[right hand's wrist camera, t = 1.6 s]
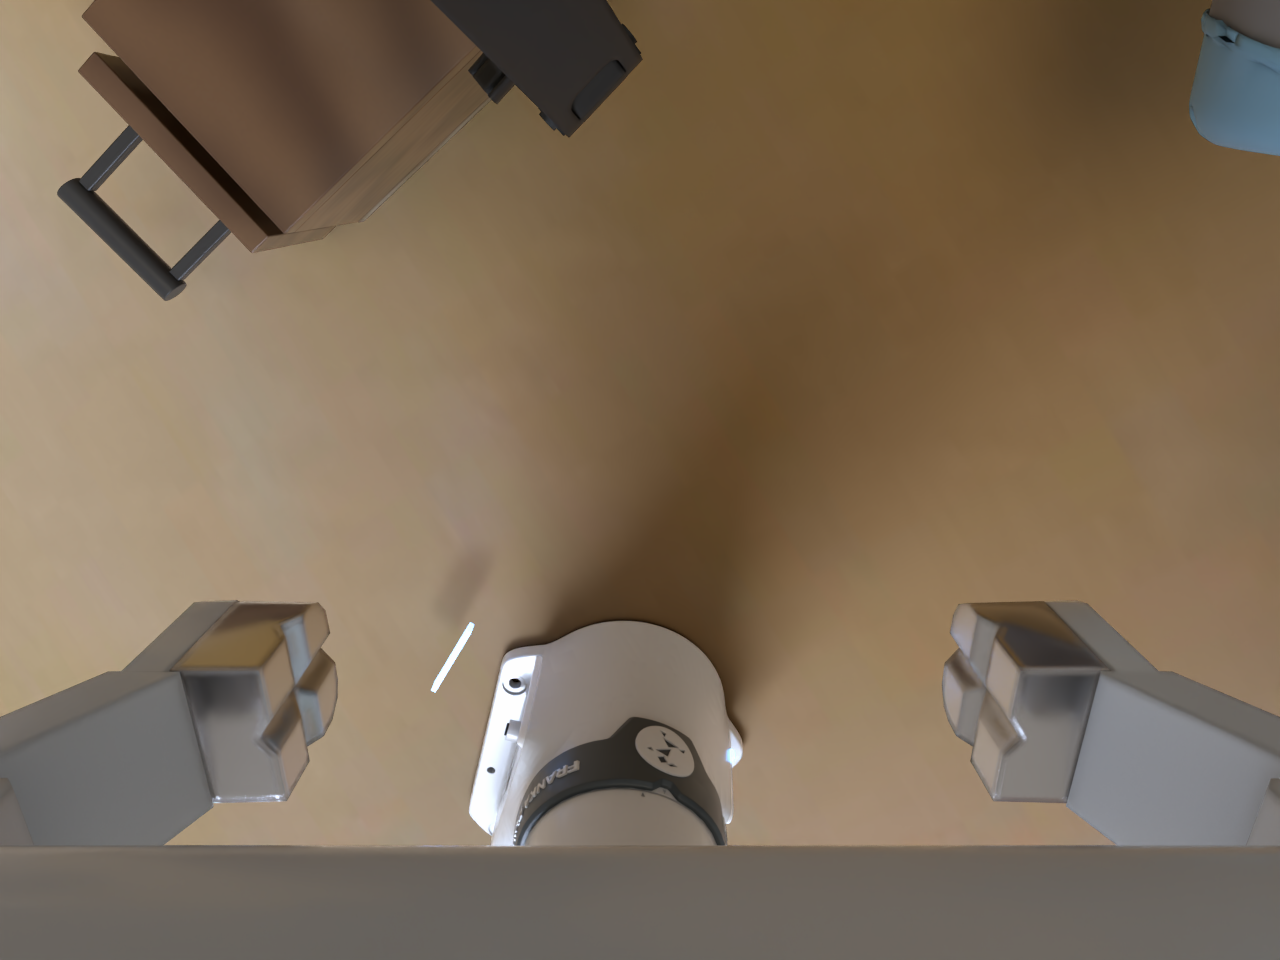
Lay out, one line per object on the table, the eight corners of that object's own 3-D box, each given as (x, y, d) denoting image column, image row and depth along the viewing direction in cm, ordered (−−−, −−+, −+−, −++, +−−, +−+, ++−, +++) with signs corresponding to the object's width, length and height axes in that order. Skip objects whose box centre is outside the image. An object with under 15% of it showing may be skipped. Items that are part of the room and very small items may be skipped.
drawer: (252, 307, 45) (168, 335, 37) (115, 168, 42) (-7, 166, 34) (581, -10, 39) (566, -58, 31) (448, -195, 37) (394, -299, 29)
